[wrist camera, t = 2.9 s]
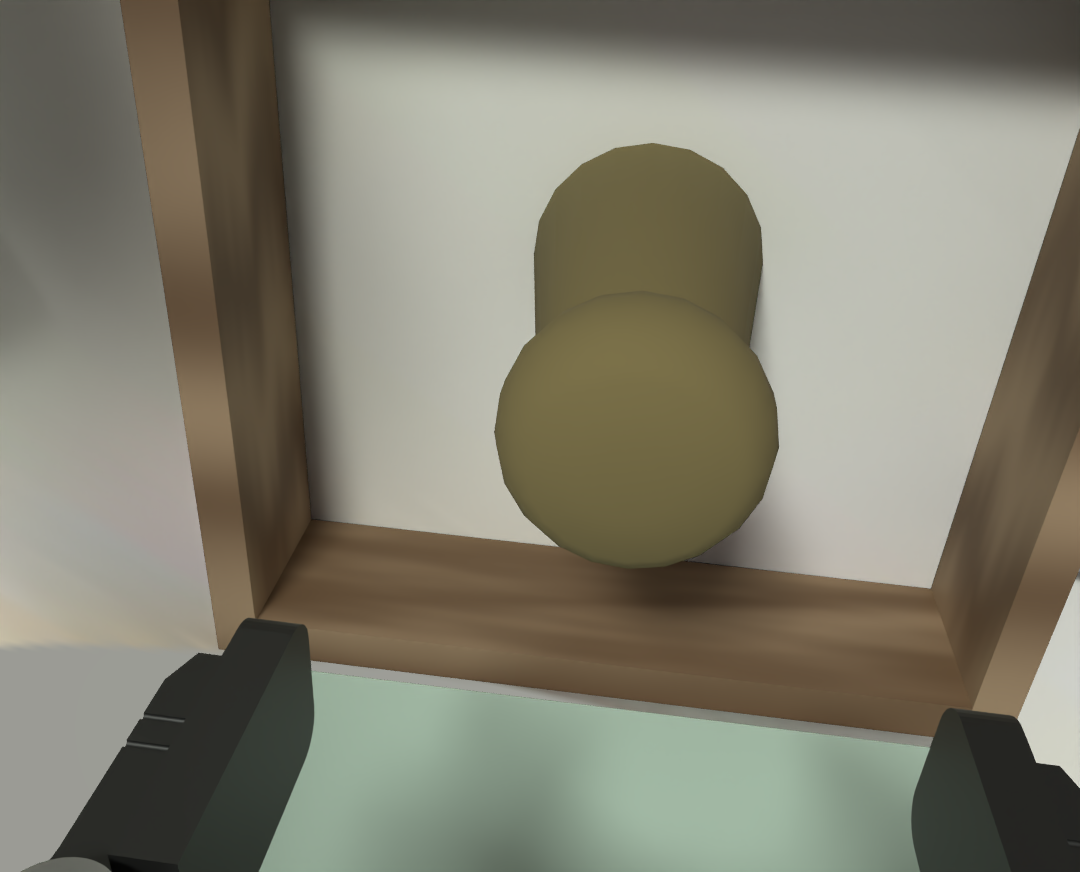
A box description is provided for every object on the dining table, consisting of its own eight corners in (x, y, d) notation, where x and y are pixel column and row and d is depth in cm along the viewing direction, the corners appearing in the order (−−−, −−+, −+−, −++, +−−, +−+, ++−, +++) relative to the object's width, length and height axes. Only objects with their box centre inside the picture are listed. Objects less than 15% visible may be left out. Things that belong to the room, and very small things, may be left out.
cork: (489, 228, 26) (386, 436, 17) (683, 93, 24) (688, 248, 15) (616, 397, 29) (587, 665, 19) (806, 288, 26) (879, 531, 17)
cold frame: (193, -269, 22) (74, -299, 17) (1253, -213, 20) (1411, -231, 16) (278, 544, 33) (218, 648, 29) (960, 623, 31) (1005, 745, 27)
